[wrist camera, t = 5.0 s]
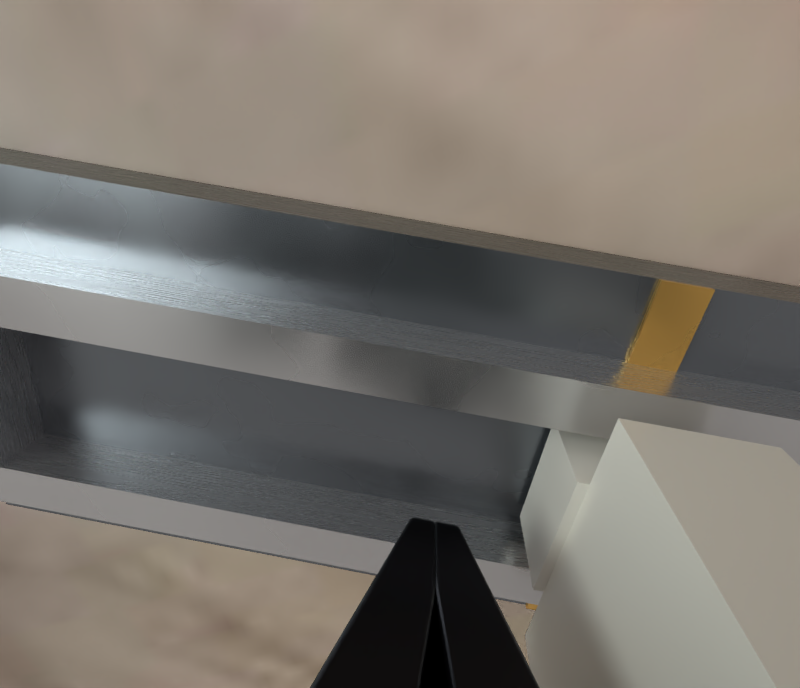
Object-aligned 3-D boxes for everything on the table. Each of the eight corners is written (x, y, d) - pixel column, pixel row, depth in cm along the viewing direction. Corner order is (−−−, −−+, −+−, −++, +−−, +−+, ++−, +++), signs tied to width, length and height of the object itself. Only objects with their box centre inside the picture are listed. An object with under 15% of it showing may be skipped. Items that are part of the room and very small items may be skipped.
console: (953, 313, 9) (1139, 380, 7) (748, 598, 13) (817, 709, 10) (-20, 144, 10) (-180, 148, 7) (51, 465, 13) (-38, 540, 11)
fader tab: (727, 388, 8) (1311, 928, 3) (625, 579, 11) (828, 1098, 5) (575, 360, 8) (832, 832, 3) (505, 557, 11) (566, 1041, 5)
